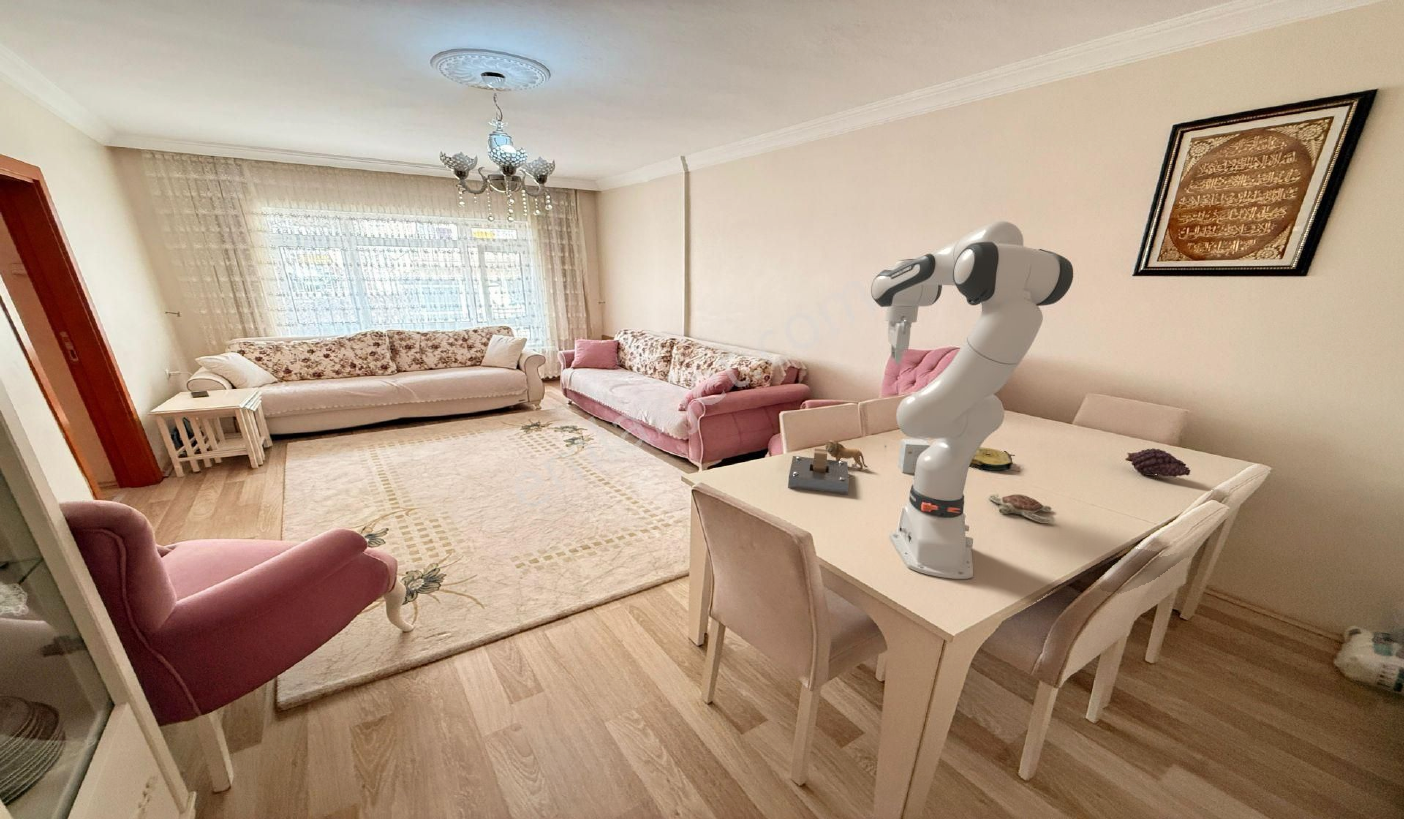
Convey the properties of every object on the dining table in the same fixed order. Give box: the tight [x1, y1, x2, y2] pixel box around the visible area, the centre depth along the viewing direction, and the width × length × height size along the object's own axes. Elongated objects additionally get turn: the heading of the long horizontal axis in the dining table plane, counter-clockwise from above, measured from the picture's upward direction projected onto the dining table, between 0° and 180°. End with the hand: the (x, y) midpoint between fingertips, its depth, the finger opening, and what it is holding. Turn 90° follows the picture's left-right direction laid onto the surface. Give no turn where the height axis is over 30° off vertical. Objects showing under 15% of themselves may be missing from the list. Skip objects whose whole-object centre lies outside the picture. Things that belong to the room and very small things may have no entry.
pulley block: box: [969, 446, 1021, 473], centre depth 178 cm, size 14×6×30 cm
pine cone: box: [1124, 447, 1191, 478], centre depth 168 cm, size 18×10×10 cm, turn 27°
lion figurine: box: [825, 439, 869, 471], centre depth 171 cm, size 15×5×9 cm, turn 75°
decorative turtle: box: [988, 493, 1055, 524], centre depth 142 cm, size 18×17×5 cm
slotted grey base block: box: [787, 455, 850, 496], centre depth 160 cm, size 18×18×5 cm
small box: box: [897, 438, 931, 474], centre depth 169 cm, size 8×6×10 cm
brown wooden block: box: [813, 448, 828, 473], centre depth 159 cm, size 4×4×10 cm
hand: (895, 360), depth 153 cm, fingers open, 8 cm apart
